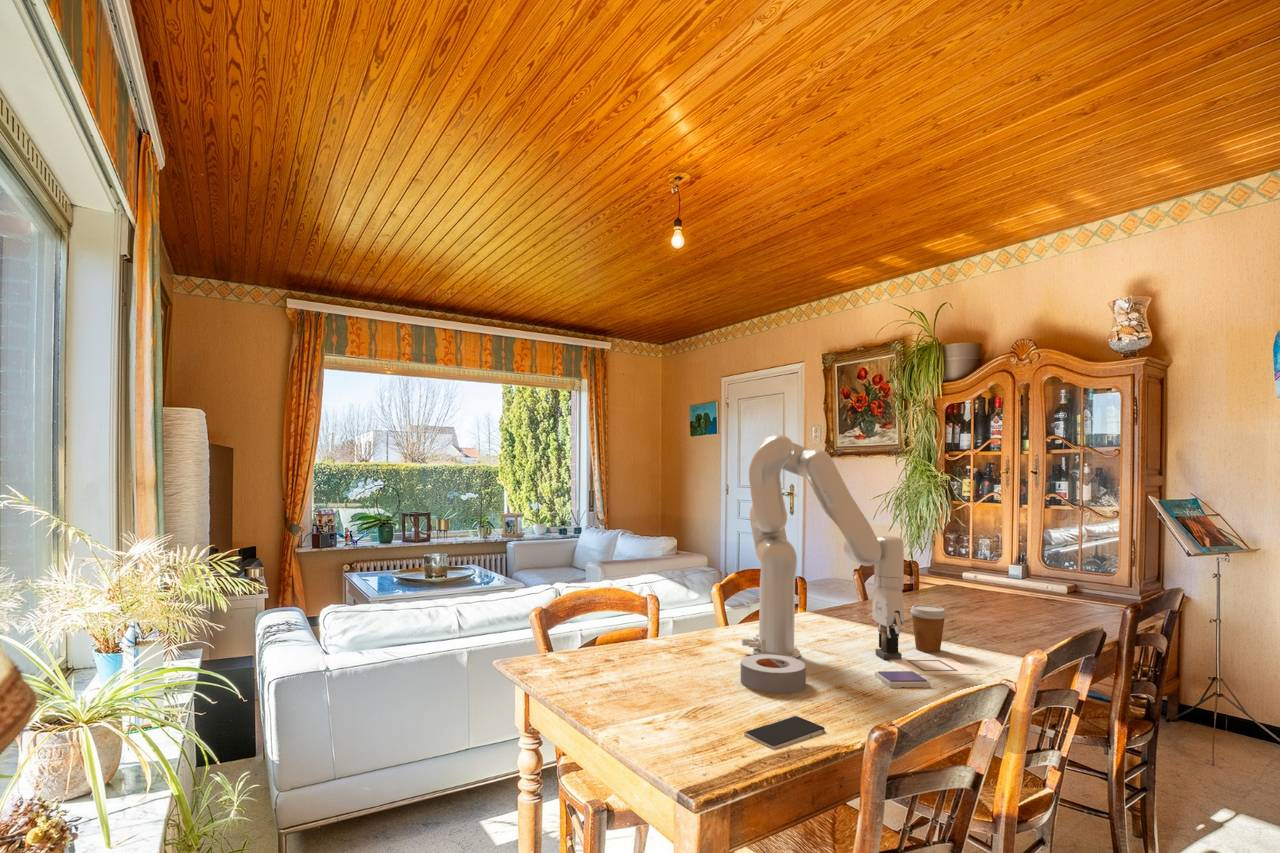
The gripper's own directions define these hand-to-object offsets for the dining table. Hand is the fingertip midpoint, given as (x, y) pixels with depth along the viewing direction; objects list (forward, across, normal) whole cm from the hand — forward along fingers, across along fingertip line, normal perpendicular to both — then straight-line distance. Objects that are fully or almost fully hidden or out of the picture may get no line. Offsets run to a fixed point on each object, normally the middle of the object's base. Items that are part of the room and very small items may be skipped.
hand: (888, 649), depth 187 cm
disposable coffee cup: (+2, -7, +15) cm, 17 cm away
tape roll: (+3, +20, -38) cm, 43 cm away
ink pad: (+2, +20, -6) cm, 21 cm away
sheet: (+2, +8, +8) cm, 12 cm away
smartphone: (+3, +50, -44) cm, 67 cm away
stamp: (+2, 0, 0) cm, 2 cm away
